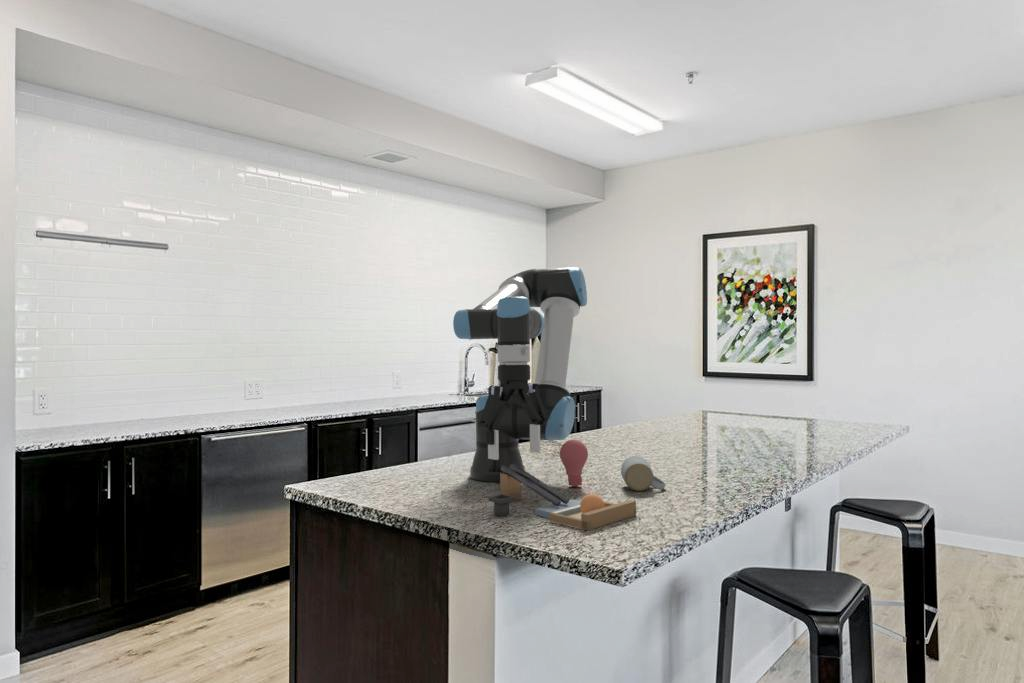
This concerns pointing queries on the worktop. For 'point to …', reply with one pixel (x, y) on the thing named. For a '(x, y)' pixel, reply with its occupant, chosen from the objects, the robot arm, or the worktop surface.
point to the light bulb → (574, 460)
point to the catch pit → (597, 516)
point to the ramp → (527, 485)
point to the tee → (501, 504)
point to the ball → (591, 503)
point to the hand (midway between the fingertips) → (514, 455)
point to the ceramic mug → (639, 474)
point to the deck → (559, 509)
